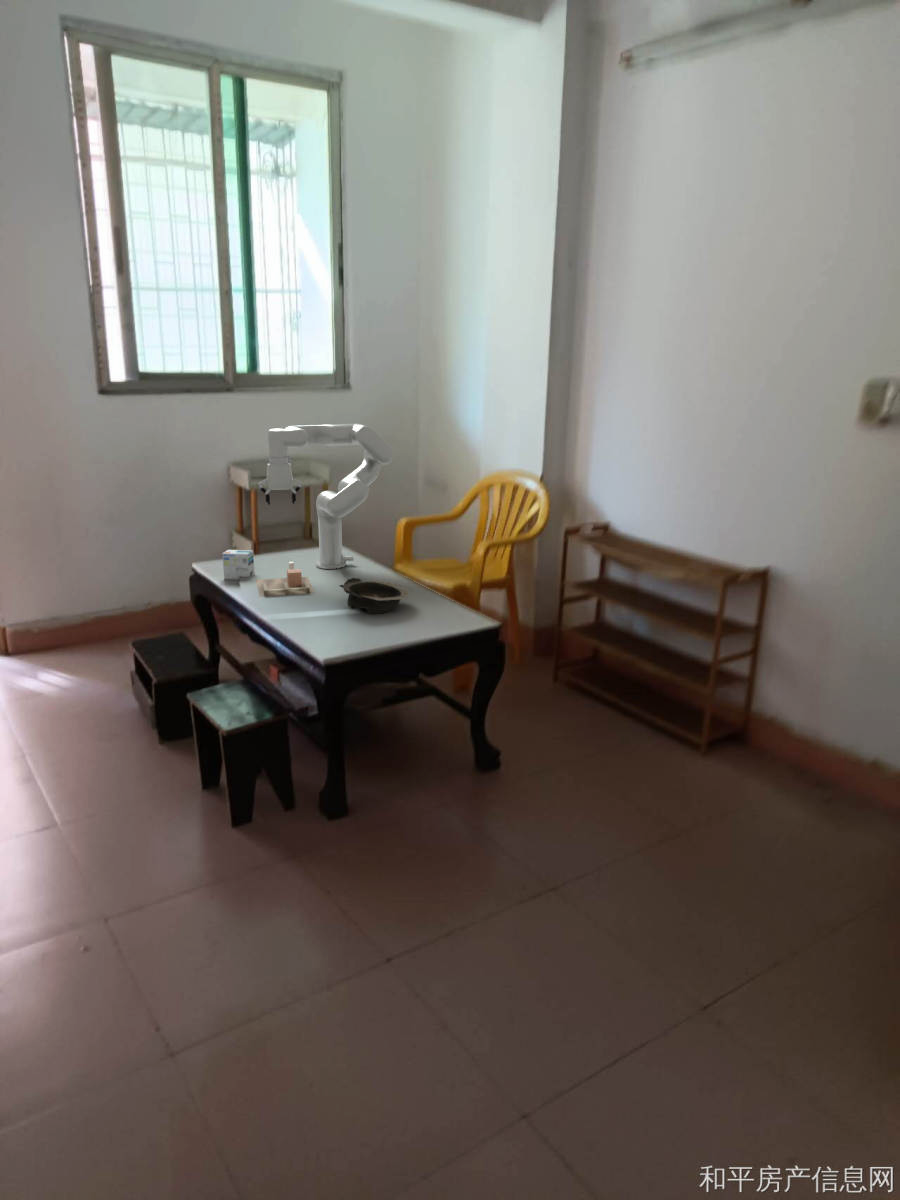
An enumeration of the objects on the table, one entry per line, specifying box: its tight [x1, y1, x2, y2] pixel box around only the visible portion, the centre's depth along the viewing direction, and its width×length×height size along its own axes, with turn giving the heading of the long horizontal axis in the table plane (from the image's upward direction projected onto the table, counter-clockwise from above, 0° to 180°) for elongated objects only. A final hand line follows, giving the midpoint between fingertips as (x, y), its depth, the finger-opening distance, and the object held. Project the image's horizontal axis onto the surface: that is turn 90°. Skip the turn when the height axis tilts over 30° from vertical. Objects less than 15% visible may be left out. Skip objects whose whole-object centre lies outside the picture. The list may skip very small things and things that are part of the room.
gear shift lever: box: [286, 561, 303, 586], centre depth 320 cm, size 5×13×6 cm, turn 17°
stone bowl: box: [339, 577, 411, 615], centre depth 296 cm, size 25×25×9 cm
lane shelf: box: [255, 576, 315, 597], centre depth 314 cm, size 20×22×4 cm
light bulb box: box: [222, 549, 256, 580], centre depth 328 cm, size 11×7×11 cm, turn 84°
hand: (281, 503), depth 330 cm, fingers open, 9 cm apart
